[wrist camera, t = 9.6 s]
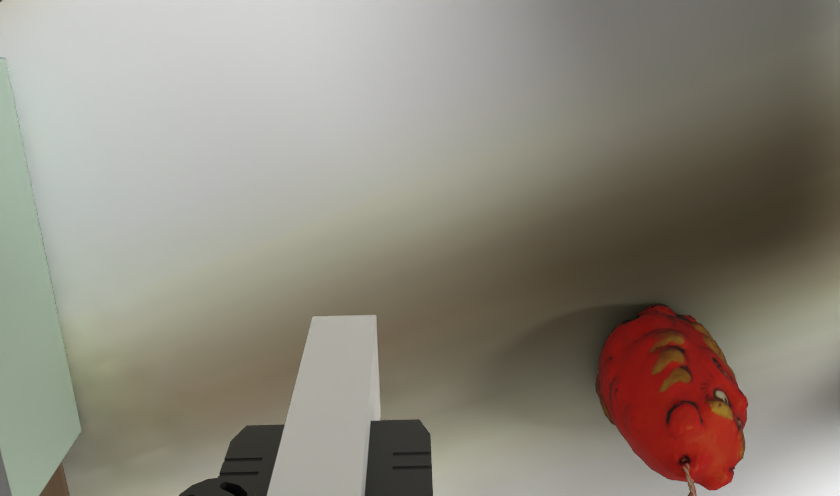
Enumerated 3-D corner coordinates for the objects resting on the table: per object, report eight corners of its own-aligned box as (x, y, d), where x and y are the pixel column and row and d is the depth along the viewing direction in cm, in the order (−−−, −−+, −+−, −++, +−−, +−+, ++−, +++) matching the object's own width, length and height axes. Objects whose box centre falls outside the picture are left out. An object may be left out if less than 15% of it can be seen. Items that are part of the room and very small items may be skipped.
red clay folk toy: (734, 371, 45) (884, 567, 31) (630, 434, 46) (728, 649, 32) (667, 275, 42) (796, 440, 28) (559, 345, 44) (632, 534, 30)
